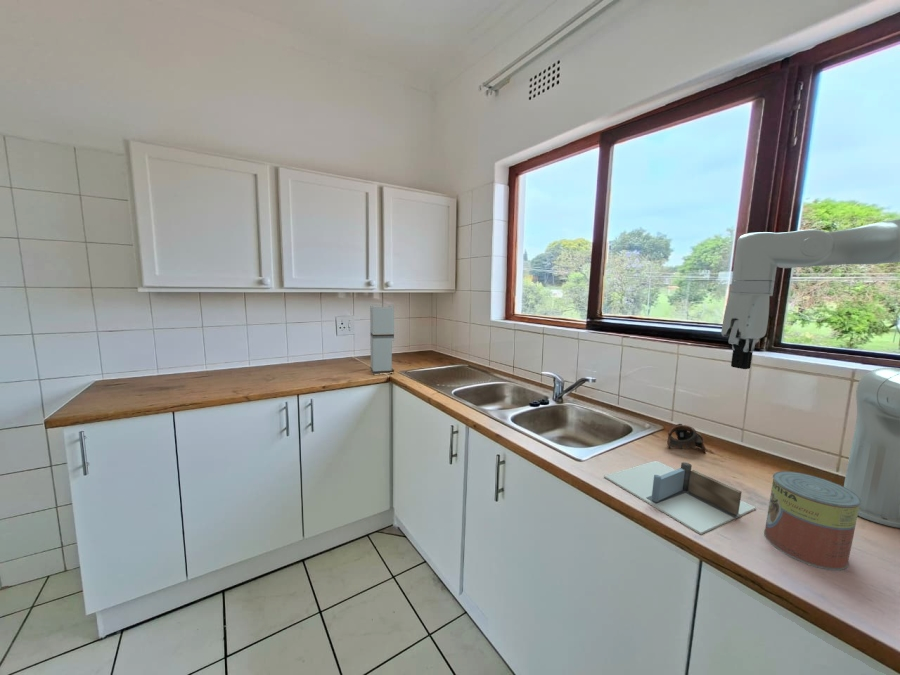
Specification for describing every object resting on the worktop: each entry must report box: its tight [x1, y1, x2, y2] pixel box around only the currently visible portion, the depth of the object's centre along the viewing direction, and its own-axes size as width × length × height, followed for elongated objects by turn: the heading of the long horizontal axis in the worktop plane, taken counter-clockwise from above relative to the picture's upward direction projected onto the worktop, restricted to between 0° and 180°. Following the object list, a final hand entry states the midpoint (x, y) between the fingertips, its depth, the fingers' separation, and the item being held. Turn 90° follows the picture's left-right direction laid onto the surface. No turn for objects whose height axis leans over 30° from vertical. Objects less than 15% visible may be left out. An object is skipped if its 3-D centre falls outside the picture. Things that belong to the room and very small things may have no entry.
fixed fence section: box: [680, 461, 743, 515], centre depth 80 cm, size 12×2×7 cm, turn 26°
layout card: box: [603, 460, 757, 535], centre depth 84 cm, size 23×20×1 cm
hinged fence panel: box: [651, 467, 685, 502], centre depth 81 cm, size 10×1×6 cm, turn 119°
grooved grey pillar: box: [369, 305, 395, 375], centre depth 190 cm, size 11×11×35 cm
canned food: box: [763, 470, 861, 571], centre depth 66 cm, size 11×11×12 cm
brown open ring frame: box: [666, 423, 707, 453], centre depth 108 cm, size 12×10×8 cm
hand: (740, 367), depth 85 cm, fingers closed
